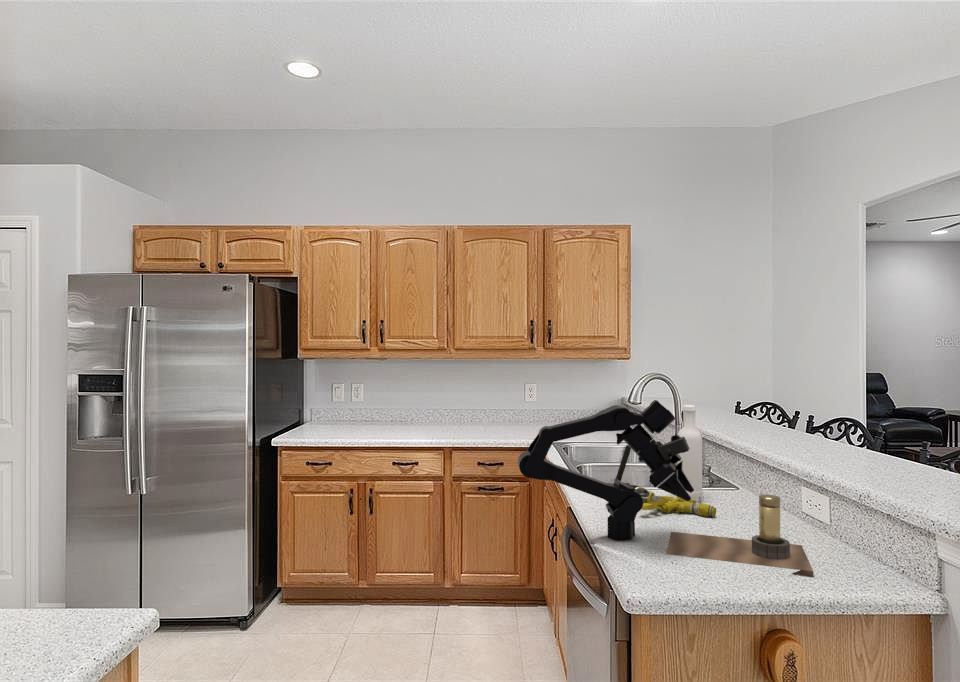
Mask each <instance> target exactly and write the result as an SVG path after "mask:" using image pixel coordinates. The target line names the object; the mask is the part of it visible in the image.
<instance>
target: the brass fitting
mask: <svg viewBox="0 0 960 682" xmlns="http://www.w3.org/2000/svg"><path fill="white" fill-rule="evenodd" d="M758 512H759V513H758V521H759V522H758V525H759V526H758V529H759V530H758V535H759V541H760V542H763V543H767V544H774V545H778V544H780V538H781V497H779V496H778V495H773V494H759V495H758Z"/></svg>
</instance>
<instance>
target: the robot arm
mask: <svg viewBox="0 0 960 682" xmlns="http://www.w3.org/2000/svg"><path fill="white" fill-rule="evenodd" d="M675 420H676V417H675V416H674V414H673V413H672V412H671V411H670V410H669V409H668V408H666V407H665V406H664V405H663V404H661V403H660V401H658V400H657V399H654V400H653V401H651V402H650V403H649V405H648V406H647V407H646V408H644V410H643V411H641V412H640V413H639V412H636V411H634V412H633V411H630V410H629V409H628V408H626V407H625V406H622V405H618V404H615V405H611V406H608V407H607V408H604V409H602V410H600V411H598V412H596V413H595V414H593V415H590V416H585V417H581V418H578V419H573V420H570V421H565V422H561V423H557V424H553V425H550V426H549V425H545V426H542V427H541V428H540V429H539V431H538V433H537V435H536V436H535V438H534V439H533V441H531V443H530V444H529V445H528V448H527V450H525V451H523V452H521V453H520V455H519V456H518V458H517V465H518V469H519V471H520V473H521V475H523V477H524V478H528V479H533V480H540V481H552V482H555V483H558V484H560V485H564V486H566V487H569V488H572V489H575V490H577V491H580V492H582V493H585V494H589V495H591V496H593V497H596V498H600V499H602V500H604V501H606V504H605V507H606V510H607V512H608V513H609V516H608V517H607V539H611V540H613V541H615V542H619V541H621V542H623V541H624V542H628V541H631V540H633V538H634V537H635V536H636V528H635V527H636V524H635V520H636V519H637V515H638V513H639V512H640V511H641V510H642V507H643V499H642V497H641V495H640V494H639V493H638V492H637V491H636V489H635V488H634V487H633V486H632V485H631V483H629V482H623V481H622V480H621V481H619V480H618V479H616V477H615V478H614V481H613V482H612V483H611V482H605V481H601V480H599V479H596V478H593V477H591V476H589V475H586V474H583V473H580V472H577V471H574V470H572V469H569V468H565V467H563V466H560V465H557V464H555V463H553V462H551V461H550V460H549V459H548V458H547V456H548V453H549V451H550V448H551V447H552V445H553V443H554V442H558V441H562V440H563V441H564V440H567V439H568V440H569V439H571V438H574V437H575V438H576V437H580V436H583V435H588V434H592V433H596V432H619V431H620V433H615V437H616V444H617V445H618V446H619V445H620V444H621V443H622V442H625V444H626V445H629V446H630V448H631V451H633V452H634V453H635V454H636V455H637V456H638V460H639V461H640V462H642V461H643V463H644V464H645V465H646V466H647V467H648V468H649V469H650V473H651V474H650V475H649V483H650V484H651V485H652V486H653V487H654V488H657V489H659V490H662V491H665V492H667V493H668V494H669V493H670V494H671V495H673V496H676V497H679V498H682V499H684V500H686V501H689V500H690V499H691V497H690V496H689V494H688V493H687V491H688V492H690V493H692V492H693V491H694V489H693V487H692V485H691V484H690V482H689V480H688V479H687V477H686V475H685V474H684V472H683V470H682V464H683V461H681V462H680V463H677V462H678V461H680V460H681V459H682V458H681V457H680V456H679V455H678V454H679V453H685V452H687V451H689V449H690V448H689V446H688V444H687V440H686V439H685V437H680V436H679V435H678V433H677V434H674V435H671V436H670V441H668V442H665V443H662V442H661V441H660V440H659V441H658V440H655V439H654V437H653V436H652V435H650V433H651V434H654V433H655V434H658V435H659V434H661V432H663V431H665V429H667V427H669V425H671V424H672V423H673V422H674V421H675ZM642 425H643V426H644V427H645V428H646V429H645V428H644V427H643V426H642ZM632 426H634V427H633V428H632ZM621 431H622V432H621ZM686 490H687V491H686Z"/></svg>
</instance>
